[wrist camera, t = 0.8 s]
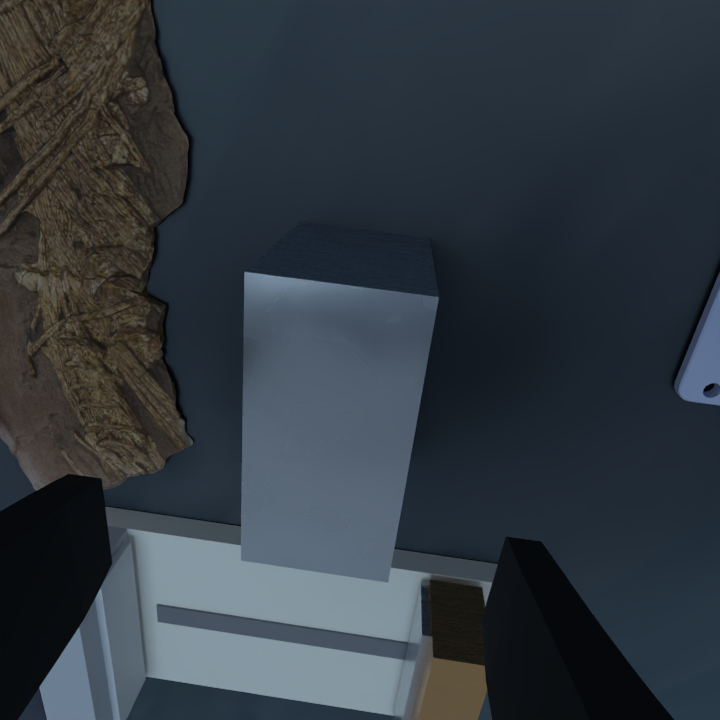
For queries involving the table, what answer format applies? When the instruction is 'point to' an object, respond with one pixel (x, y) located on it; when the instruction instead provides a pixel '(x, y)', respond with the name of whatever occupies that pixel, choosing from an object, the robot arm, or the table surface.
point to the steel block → (332, 395)
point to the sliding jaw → (444, 656)
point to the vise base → (238, 622)
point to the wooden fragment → (85, 239)
